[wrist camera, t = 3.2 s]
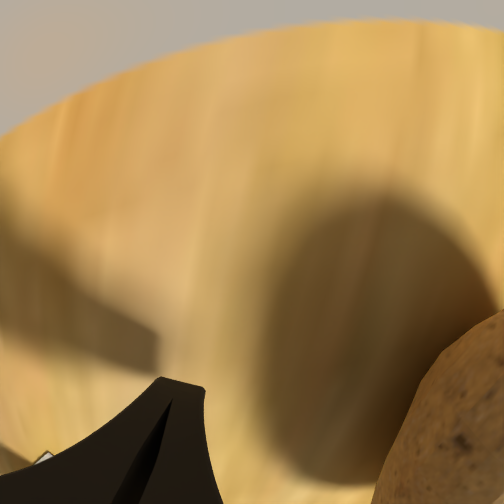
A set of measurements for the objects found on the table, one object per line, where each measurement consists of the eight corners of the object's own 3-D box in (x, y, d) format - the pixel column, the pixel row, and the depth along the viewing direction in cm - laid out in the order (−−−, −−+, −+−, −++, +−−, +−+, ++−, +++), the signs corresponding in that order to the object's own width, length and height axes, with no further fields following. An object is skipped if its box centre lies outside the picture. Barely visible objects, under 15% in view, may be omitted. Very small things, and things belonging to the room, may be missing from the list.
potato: (553, 216, 8) (702, 278, 1) (503, 449, 12) (553, 537, 4) (333, 274, 9) (461, 538, 2) (354, 507, 13) (373, 623, 5)
